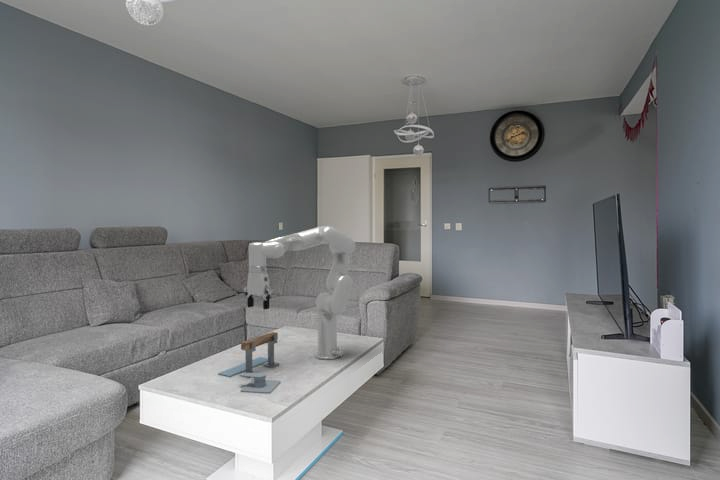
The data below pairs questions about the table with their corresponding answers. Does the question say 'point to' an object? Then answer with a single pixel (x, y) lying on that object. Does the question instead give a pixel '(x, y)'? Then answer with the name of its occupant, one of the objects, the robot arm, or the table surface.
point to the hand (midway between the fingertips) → (258, 307)
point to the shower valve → (259, 383)
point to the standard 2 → (271, 354)
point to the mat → (243, 367)
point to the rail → (258, 340)
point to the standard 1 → (249, 358)
